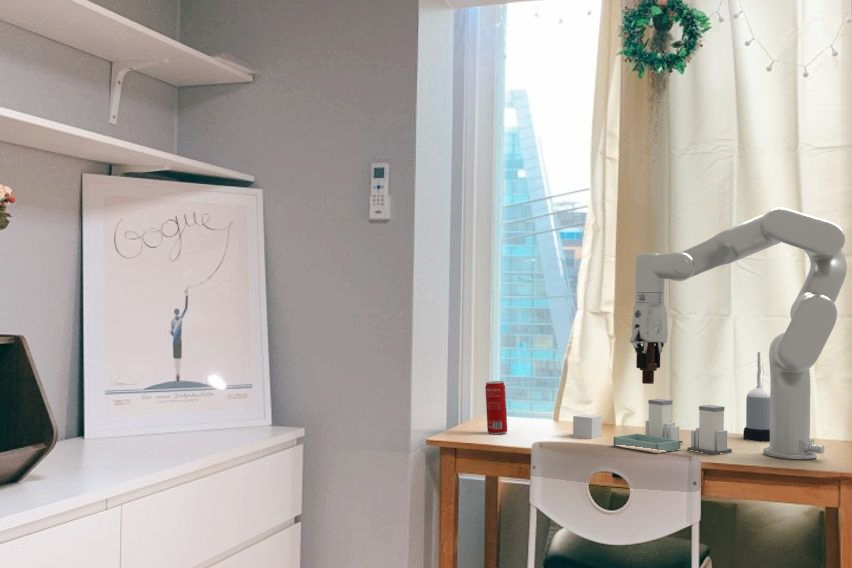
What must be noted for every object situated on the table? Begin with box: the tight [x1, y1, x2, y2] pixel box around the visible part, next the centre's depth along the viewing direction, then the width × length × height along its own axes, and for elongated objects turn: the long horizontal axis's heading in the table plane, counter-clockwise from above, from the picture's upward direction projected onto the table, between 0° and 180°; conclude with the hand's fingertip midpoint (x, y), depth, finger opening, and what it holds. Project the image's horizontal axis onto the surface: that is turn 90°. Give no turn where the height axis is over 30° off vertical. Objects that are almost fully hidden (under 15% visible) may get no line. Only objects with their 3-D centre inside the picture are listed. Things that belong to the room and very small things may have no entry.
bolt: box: [639, 329, 659, 385], centre depth 232 cm, size 6×5×15 cm
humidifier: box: [742, 351, 770, 443], centre depth 250 cm, size 8×8×25 cm
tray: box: [613, 433, 681, 452], centre depth 232 cm, size 14×10×2 cm
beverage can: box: [484, 380, 508, 435], centre depth 254 cm, size 6×6×15 cm
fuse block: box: [644, 398, 733, 456], centre depth 234 cm, size 23×8×12 cm, turn 39°
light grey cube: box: [572, 413, 603, 440], centre depth 250 cm, size 6×6×6 cm
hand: (648, 367), depth 232 cm, fingers closed on bolt, 4 cm apart
